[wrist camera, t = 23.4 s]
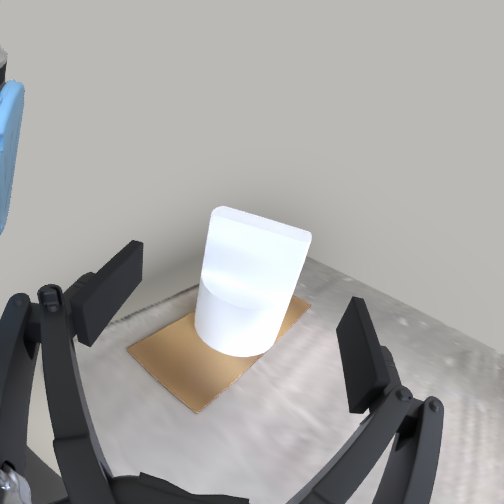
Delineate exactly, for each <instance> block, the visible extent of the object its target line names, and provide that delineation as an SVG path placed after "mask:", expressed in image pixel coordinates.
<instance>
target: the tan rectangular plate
mask: <svg viewBox="0 0 504 504" xmlns="http://www.w3.org/2000/svg"><path fill="white" fill-rule="evenodd" d="M310 306H311V304H309V303H307V302H305V301H303V300H301V299H299V298H298V297H296V296H294V295H292V297H291V300H290V303H289V305H288V308H287V311H286V313H285V316H284V319H283V321H282V324H281V327H280V329H279V332H278V334H277V337H276V339H275V341H274V343H275V342H276V341H277V340H278V339H279V338H280V337H281V336H282V335H283V334H284V333H285V332H286V331H287V330H288V329H289V328H290V327H291V326H292V325H293V324H294V323H295V322H296V321H297V320H298V319H299V318H300V317H301V316H302V315H303V314H304V313H305V312H306V311H307V310H308V309H309V307H310ZM195 312H196V310H195V311H193V312H192V313H190V314H188V315H186V316H184V317H183V318H181V319H179V320H177V321H176V322H174V323H172V324H170V325H168V326H167V327H165V328H163V329H161V330H159V331H158V332H156V333H154V334H152V335H150V336H149V337H147V338H145V339H143V340H141V341H140V342H138V343H136V344H134V345H132V346H130V347H129V348H127V351H128V352H129V353H130V354H131V355H132V356H133V357H134V358H135V359H136V360H137V361H138V362H139V363H140V364H141V365H142V366H143V367H144V368H145V369H146V370H147V371H148V372H149V373H150V374H151V375H152V376H153V377H154V378H155V379H157V380H158V381H159V382H160V383H161V384H162V385H163V386H164V387H165V388H166V389H168V390H169V391H170V392H171V393H172V394H173V395H174V396H176V397H177V398H178V399H179V400H180V401H181V402H183V403H184V404H185V405H186V406H187V407H189V408H190V409H191V410H192V411H194V412H195V413H196V414H198V413H199V412H200V411H201V410H202V409H204V408H205V407H206V406H207V405H208V404H209V403H211V402H212V401H213V400H214V399H215V398H216V397H217V396H219V395H220V394H221V393H222V392H223V391H224V390H225V389H226V388H228V387H229V386H230V385H231V384H232V383H233V382H234V381H235V380H236V379H238V378H239V377H240V376H241V375H242V374H243V373H244V372H245V371H246V370H247V369H248V368H249V367H250V366H252V365H253V364H254V363H255V362H256V361H257V360H258V359H259V358H260V357H261V356H262V355H263V354H264V353H265V352H266V351H265V352H263V353H261V354H259V355H255V356H249V357H238V356H231V355H227V354H224V353H221V352H219V351H217V350H215V349H213V348H211V347H210V346H208V345H207V344H206V343H205V342H203V340H202V339H201V338H200V337H199V335H198V334H197V332H196V329H195V326H194V323H195ZM274 343H273V344H274Z"/></svg>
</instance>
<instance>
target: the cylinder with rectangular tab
mask: <svg viewBox="0 0 504 504" xmlns="http://www.w3.org/2000/svg"><path fill="white" fill-rule="evenodd" d="M311 240H312V236H311V233H310V232H308V231H305V230H302V229H299V228H296V227H293V226H290V225H286V224H283V223H280V222H276V221H273V220H270V219H267V218H263V217H260V216H257V215H253V214H250V213H247V212H243V211H240V210H236V209H233V208H229V207H226V206H220V207H218V208H215V209H214V210H213V211H212V213H211V218H210V224H209V230H208V235H207V241H206V247H205V253H204V259H203V265H202V272H201V279H200V285H199V291H198V298H197V305H196V312H195V323H194V326H195V329H196V332H197V334H198V335H199V337H200V338H201V339H202V340H203V342H205V343H206V344H207V345H208V346H210V347H211V348H213V349H215V350H217V351H219V352H221V353H224V354H227V355H231V356H238V357H249V356H255V355H259V354H261V353H263V352H265V351H267V350H268V349H269V348H270V347H271V346H272V345H273V343H274V341H275V339H276V337H277V334H278V332H279V329H280V327H281V324H282V321H283V319H284V316H285V313H286V311H287V308H288V305H289V303H290V300H291V297H292V294H293V292H294V289H295V286H296V283H297V280H298V278H299V275H300V272H301V269H302V266H303V263H304V260H305V257H306V255H307V251H308V248H309V246H310V242H311Z"/></svg>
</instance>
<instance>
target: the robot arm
mask: <svg viewBox="0 0 504 504" xmlns="http://www.w3.org/2000/svg"><path fill="white" fill-rule="evenodd" d="M6 63H7V53H6V51H5V50H4V49H3V48H2V47H1V46H0V235H1V233H2V232H3V229H4V227H5V224H6V220H7V216H8V211H9V204H10V198H11V190H12V183H13V176H14V168H15V161H16V154H17V148H18V141H19V134H20V127H21V121H22V114H23V107H24V92H25V90H24V85H23V84H22V83H21V82H16V81H15V80H9V81H7V82H6V83H5V71H6ZM142 263H143V243H142V242H139V241H134V240H132V241H131V242H130V243H129V244H128V245H126V246H125V247H124V248H123V249H122V250H121V251H120V252H119V253H117V254H116V255H115V256H114V257H113V258H112V259H111V260H110V261H109V262H107V263H106V264H105V265H104V266H103V267H102V268H101V269H100V270H99V271H98V272H97V273H96V274H95V273H92V272H89V273H86V274H84V275H83V276H81V277H80V278H79V279H78V280H77V281H76V282H75V283H74V284H73V285H71V287H69V289H67V290H66V291H65V292H64V293H62V289H61V288H60V287H59V286H58V285H55V284H48V285H45V286H43V287H41V288H40V289H39V290H38V293H37V295H38V300H39V304H37V303H31V301H30V298H29V296H28V295H27V294H25V293H17V294H15V295H13V296H12V297H11V298H10V299H9V301H8V303H7V305H6V307H5V310H4V312H3V314H2V317H1V319H0V504H32V503H31V499H30V497H31V491H30V487H29V484H28V482H27V481H26V480H25V478H24V475H25V468H26V443H27V442H26V441H27V424H28V414H29V404H30V396H31V389H32V382H33V376H34V370H35V365H36V360H37V355H38V351H39V346H40V343H41V345H42V346H41V347H42V361H43V372H44V380H45V388H46V395H47V401H48V407H49V413H50V418H51V423H52V428H53V432H54V437H55V439H54V440H53V447H54V452H55V456H56V459H57V463H58V466H59V469H60V472H61V476H62V479H63V482H64V485H65V487H66V490H67V493H68V497H66V498H63V499H60V500H58V501H55V502H52V503H49V504H249V499H246V498H240V497H233V496H228V495H196V494H191V493H189V492H187V491H185V490H183V489H181V488H179V487H177V486H175V485H174V484H172V483H170V482H168V481H166V480H163V479H160V478H157V477H154V476H151V475H148V474H145V473H142V472H140V475H139V476H133V475H126V476H118V477H113V474H112V472H111V470H110V468H109V466H108V464H107V462H106V459H105V457H104V455H103V452H102V449H101V447H100V444H99V441H98V438H97V435H96V432H95V429H94V426H93V423H92V420H91V416H90V413H89V409H88V406H87V402H86V398H85V395H84V391H83V387H82V382H81V378H80V373H79V369H78V364H77V359H76V353H75V348H74V342H73V338H74V336H75V335H76V334H77V338H78V342H80V343H82V344H84V345H86V346H89V347H91V346H92V345H93V343H94V342H95V341H96V339H97V338H98V336H99V335H100V334H101V332H102V331H103V330H104V328H105V327H106V326H107V324H108V323H109V322H110V320H111V319H112V317H113V316H114V315H115V314H116V312H117V311H118V310H119V309H120V307H121V306H122V304H123V303H124V302H125V301H126V299H127V298H128V297H129V296H130V295H131V293H132V292H133V291H134V289H135V288H136V287H137V286H138V284H139V283H140V282H141V281H142ZM336 332H337V338H338V343H339V349H340V354H341V360H342V366H343V372H344V378H345V384H346V391H347V397H348V404H349V412H350V413H357V414H363V413H364V412H365V411H366V410H367V409H368V408H369V412H370V414H369V415H368V416H367V417H366V418H365V419H364V420H363V421H362V422H361V423H360V426H359V427H358V429H357V430H356V431H355V432H354V434H353V435H352V436H351V437H350V438H349V440H348V441H347V442H346V443H345V444H344V445H343V447H342V448H341V449H340V450H339V451H338V452H337V453H336V455H335V456H334V457H333V458H332V459H331V460H330V461H329V462H328V463H327V464H326V465H325V466H324V467H323V469H322V470H321V471H320V472H319V473H318V474H317V475H316V476H315V477H314V478H313V479H312V480H311V481H310V482H309V483H308V484H307V485H305V486H304V487H303V488H302V489H301V490H300V491H299V492H298V493H297V494H296V495H295V496H294V497H292V498H291V499H290V500H289V501H288V502H287V503H286V504H345V503H346V502H347V500H348V499H349V498H350V497H351V496H352V494H353V493H354V492H355V491H356V489H357V488H358V487H359V485H360V484H361V483H362V482H363V480H364V479H365V478H366V476H367V475H368V473H369V472H370V471H371V469H372V468H373V467H374V465H375V464H376V462H377V461H378V459H379V458H380V456H381V455H382V453H383V452H384V450H385V449H386V447H387V446H388V444H389V442H390V441H391V439H392V438H393V436H394V434H395V433H396V434H395V438H394V442H393V445H392V449H391V452H390V455H389V458H388V462H387V465H386V468H385V471H384V474H383V476H382V479H381V482H380V485H379V487H378V490H377V492H376V495H375V497H374V500H373V502H372V504H429V502H430V498H431V494H432V490H433V486H434V481H435V476H436V471H437V465H438V459H439V453H440V446H441V438H442V429H443V417H444V406H443V404H442V402H441V401H440V400H439V399H438V398H436V397H433V396H431V397H428V398H427V399H426V400H425V401H421V400H418V399H415V398H413V395H412V393H411V391H410V390H409V389H408V388H406V387H404V386H402V384H401V381H400V378H399V375H398V372H397V369H396V367H395V363H394V362H393V357H392V354H391V352H390V351H389V350H388V349H387V347H386V346H380V344H379V341H378V338H377V335H376V332H375V329H374V326H373V323H372V321H371V318H370V315H369V312H368V310H367V307H366V304H365V302H364V299H362V298H358V297H354V296H353V297H352V299H351V301H350V303H349V305H348V307H347V309H346V311H345V313H344V315H343V317H342V319H341V321H340V323H339V325H338V327H337V329H336Z"/></svg>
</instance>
